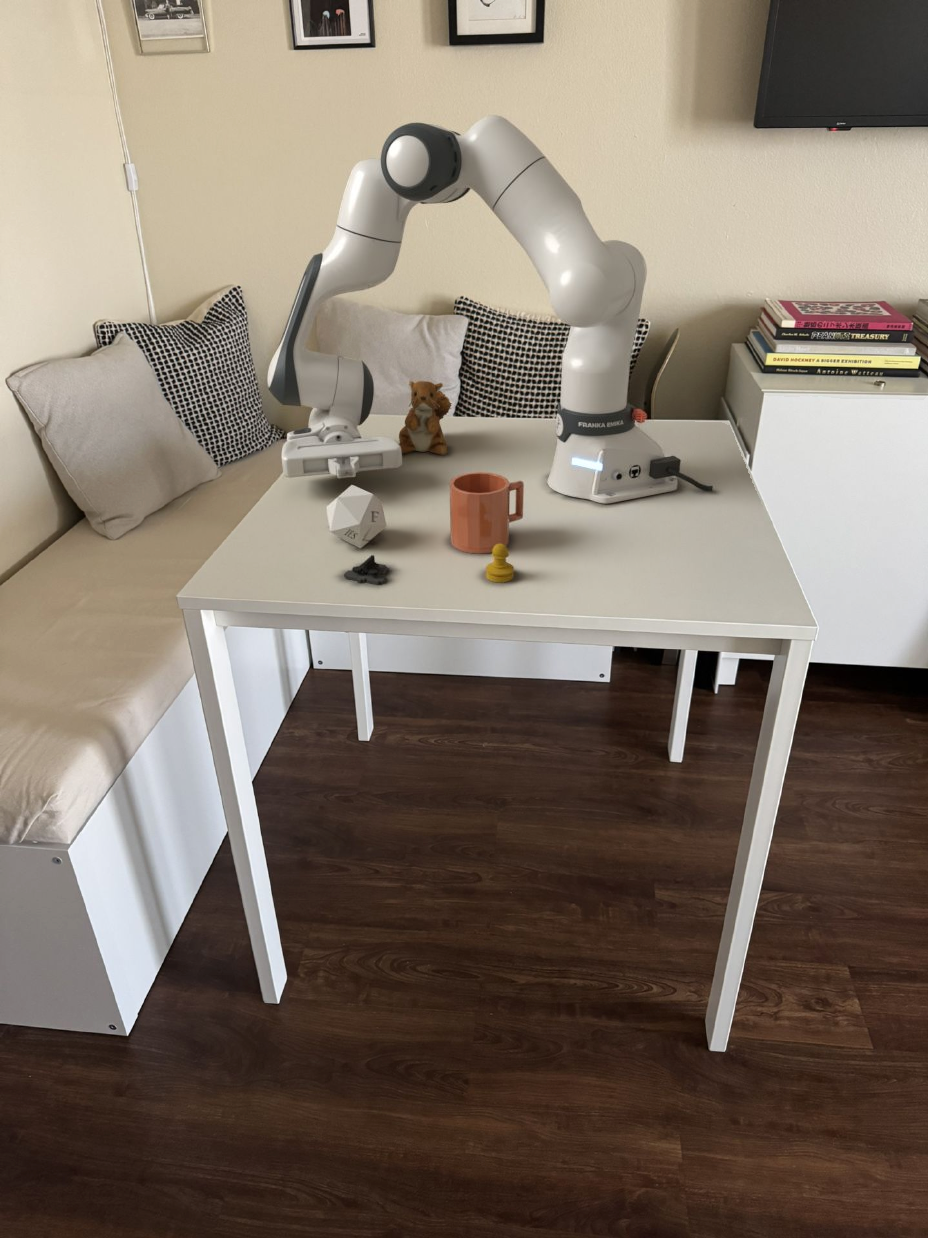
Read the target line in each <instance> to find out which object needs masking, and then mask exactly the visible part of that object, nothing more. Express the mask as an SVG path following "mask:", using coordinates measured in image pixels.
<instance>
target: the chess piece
mask: <svg viewBox="0 0 928 1238" xmlns="http://www.w3.org/2000/svg"><path fill="white" fill-rule="evenodd" d="M508 552H509V551H508V547H507V545H506V546H505V545H504V544H496V545H495V546H494V547H493V550H492V552H491V557H492V558H493V561H492V562H490V563H488V564H487V565H486V567H485V570H486V571H485V578H486V579H487V580H488V581H490V582H493V583H507V582H511V581H512V580H513V579H514V569H515V568H514V565H513V564H511V563H509V562H508V561H507V558H508V557H509V556H510V555H509V553H508Z"/></svg>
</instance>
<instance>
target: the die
mask: <svg viewBox="0 0 928 1238" xmlns="http://www.w3.org/2000/svg"><path fill="white" fill-rule="evenodd" d="M325 509H326V514H327V521H328V528H329V532H330V533H331V534H333V535H335V536H336V537H338V538H339V539H341V540H343V541H345V542H346V543H349V544H350V545H353V546H354V547H357V548H358V549H360V550H361V549H362V548H363V547H364V546H365V545H366V544H368V543H369V542H370V541H371V540H372V539H373V538H375V537H376V536H377V535H378V534H379V533H380V532H382V531H383V530H384V529H385V528H386V527H387V520H386V517H385V512H384V507H383V503H382V501H381V499H379V498H378V497H377V496H376V495H375V494H373V493H371V492H369V491H367V490H365V489H362V488H361V487H358V486H356V485H353V484H351V485H350V486H348V487H347V488H346V489H345V490H344V491H342V493H340V494H339V495H338V496H337V497H336V498H335V499H334V500H332V501H331V503H329V504H328V505H327V506H325Z"/></svg>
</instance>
